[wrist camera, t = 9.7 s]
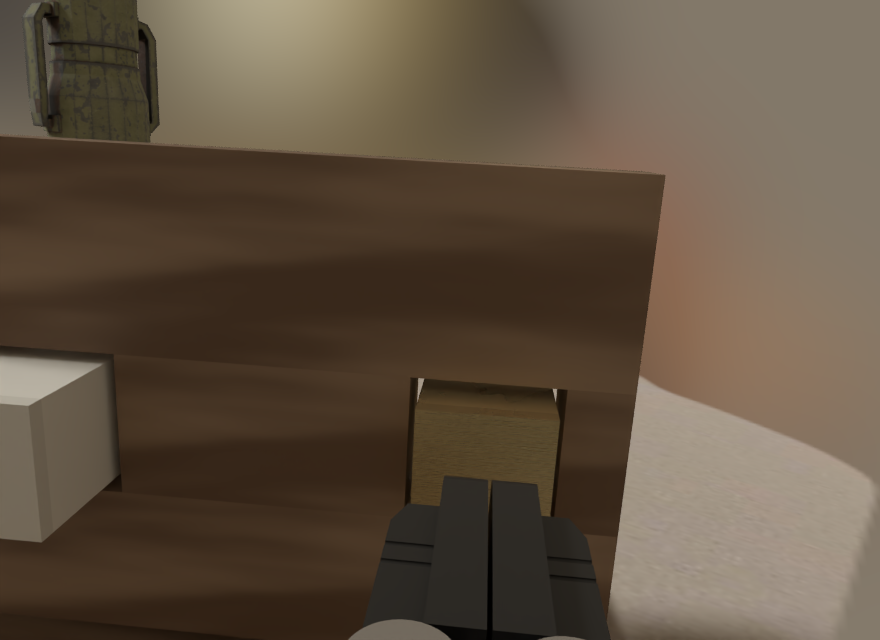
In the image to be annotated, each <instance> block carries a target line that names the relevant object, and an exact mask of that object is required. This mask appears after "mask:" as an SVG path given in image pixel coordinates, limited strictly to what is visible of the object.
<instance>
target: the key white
mask: <svg viewBox="0 0 880 640" xmlns="http://www.w3.org/2000/svg"><path fill="white" fill-rule="evenodd" d="M119 474H121V465H120V449H119V434H118V418H117V402H116V387H115V371H114V355H113V354H103V353H90V352H77V351H64V350H52V349H39V348H26V347H13V346H0V538H1V539H11V540H21V541H32V542H43V541H44V540H45V539H46V538H47V537H49V536H50V535H51V534H52V533H53V532H54V531H55V530H57V529H58V528H59V527H60V526H61V525H62V524H63V523H65V522H66V521H67V520H68V519H69V518H70V517H71V516H73V515H74V514H75V513H76V512H77V511H78V510H79V509H81V508H82V507H83V506H84V505H85V504H86V503H87V502H89V501H90V500H91V499H92V498H93V497H94V496H95V495H97V494H98V493H99V492H100V491H101V490H102V489H103V488H105V487H106V486H107V485H108V484H109V483H110V482H111V481H113V480H114V479H115V478H116V477H117V476H118V475H119Z"/></svg>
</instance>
